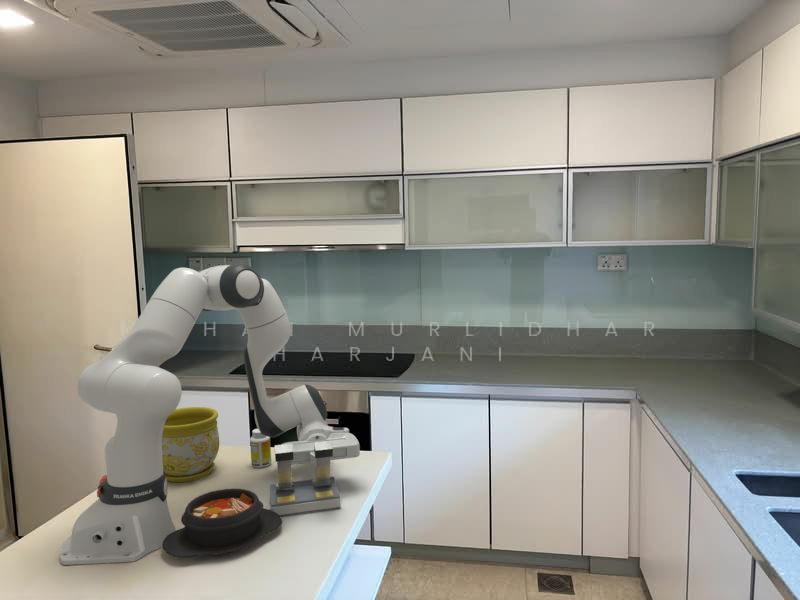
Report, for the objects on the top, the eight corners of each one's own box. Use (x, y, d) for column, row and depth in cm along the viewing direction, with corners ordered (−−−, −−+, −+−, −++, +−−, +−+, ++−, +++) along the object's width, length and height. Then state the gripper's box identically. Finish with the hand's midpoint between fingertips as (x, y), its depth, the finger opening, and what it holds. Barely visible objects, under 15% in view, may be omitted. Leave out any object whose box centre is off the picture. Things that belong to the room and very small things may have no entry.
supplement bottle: (272, 460, 174) (270, 426, 173) (270, 467, 168) (268, 432, 167) (253, 461, 173) (251, 427, 172) (250, 469, 168) (248, 434, 167)
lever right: (313, 491, 146) (314, 450, 136) (312, 482, 148) (313, 442, 138) (331, 488, 147) (333, 448, 138) (330, 480, 149) (332, 440, 139)
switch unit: (271, 518, 138) (271, 504, 138) (270, 495, 150) (269, 483, 150) (340, 508, 142) (340, 495, 142) (334, 487, 154) (333, 475, 153)
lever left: (276, 495, 144) (274, 453, 135) (275, 487, 145) (273, 445, 137) (294, 493, 145) (294, 451, 136) (293, 485, 146) (293, 443, 138)
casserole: (264, 508, 144) (263, 474, 143) (295, 540, 128) (293, 502, 127) (154, 539, 130) (152, 502, 129) (174, 579, 115) (171, 537, 114)
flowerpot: (216, 483, 159) (212, 423, 157) (145, 489, 156) (140, 428, 154) (225, 458, 176) (222, 404, 174) (162, 463, 174) (158, 408, 172)
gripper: (275, 435, 154) (277, 454, 141) (353, 427, 159) (363, 444, 145) (276, 459, 155) (279, 480, 141) (354, 450, 160) (364, 469, 146)
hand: (322, 462), depth 143 cm, fingers closed, pressing on lever right
